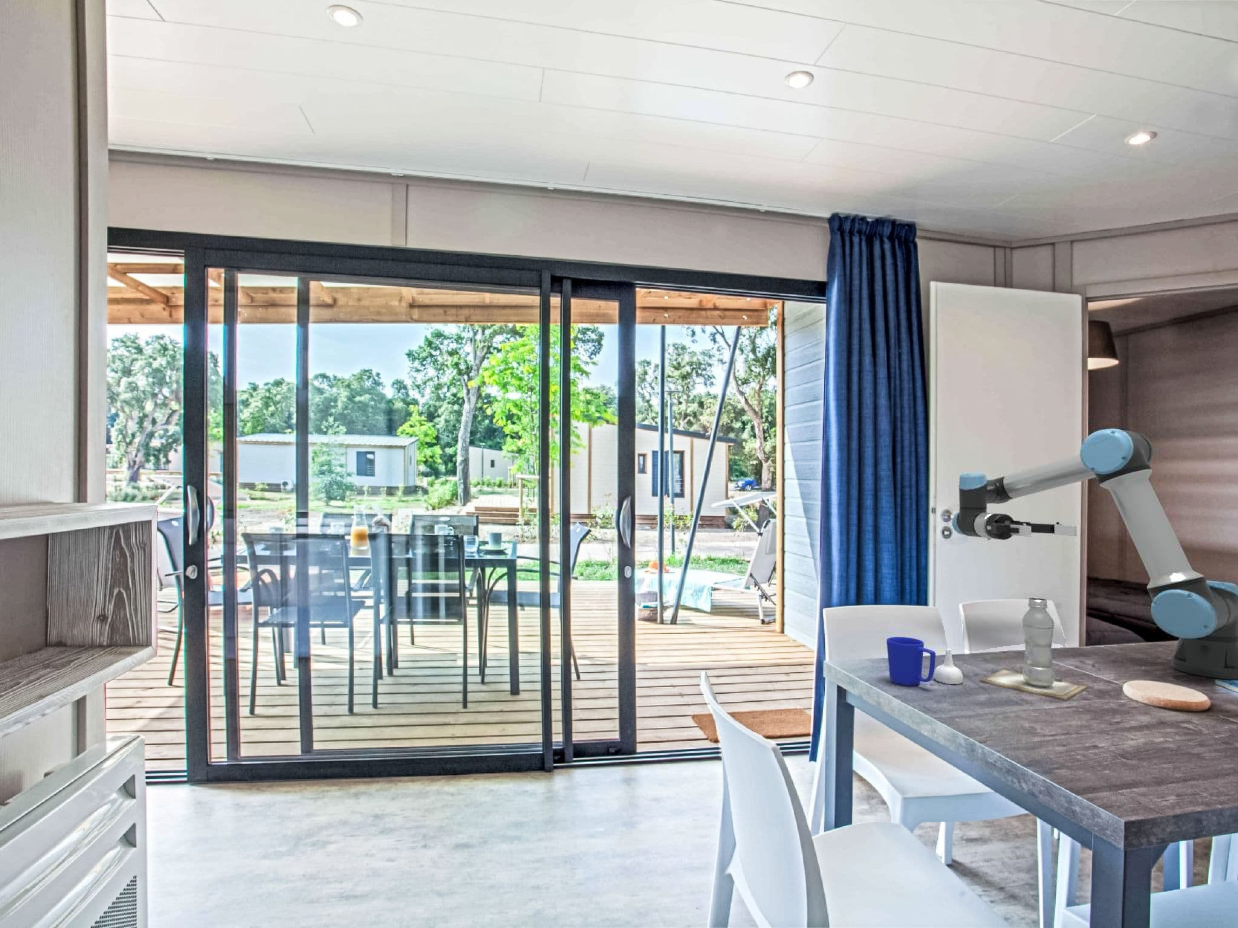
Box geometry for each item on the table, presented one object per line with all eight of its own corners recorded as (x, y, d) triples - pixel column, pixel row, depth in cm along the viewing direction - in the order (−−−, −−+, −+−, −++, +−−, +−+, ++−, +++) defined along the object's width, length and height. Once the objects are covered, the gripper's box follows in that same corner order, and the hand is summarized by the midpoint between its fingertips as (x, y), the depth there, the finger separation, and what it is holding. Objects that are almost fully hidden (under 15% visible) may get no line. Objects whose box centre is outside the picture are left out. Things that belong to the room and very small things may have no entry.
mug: (922, 694, 152) (921, 649, 153) (879, 680, 163) (879, 638, 163) (946, 689, 156) (946, 645, 157) (903, 676, 167) (902, 635, 167)
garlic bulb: (928, 682, 164) (926, 649, 164) (945, 676, 167) (942, 643, 167) (952, 688, 159) (950, 655, 158) (969, 682, 162) (966, 649, 162)
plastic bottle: (1045, 681, 160) (1044, 596, 161) (1061, 690, 153) (1060, 601, 154) (1017, 680, 161) (1015, 596, 161) (1031, 689, 154) (1030, 601, 155)
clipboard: (1086, 688, 157) (1086, 682, 157) (1065, 700, 148) (1065, 694, 148) (1003, 671, 171) (1003, 666, 171) (979, 681, 162) (979, 676, 162)
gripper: (1033, 538, 202) (1094, 544, 181) (957, 539, 197) (1010, 546, 177) (1032, 513, 202) (1093, 516, 181) (957, 513, 198) (1010, 517, 177)
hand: (1052, 531), depth 179 cm, fingers open, 13 cm apart
